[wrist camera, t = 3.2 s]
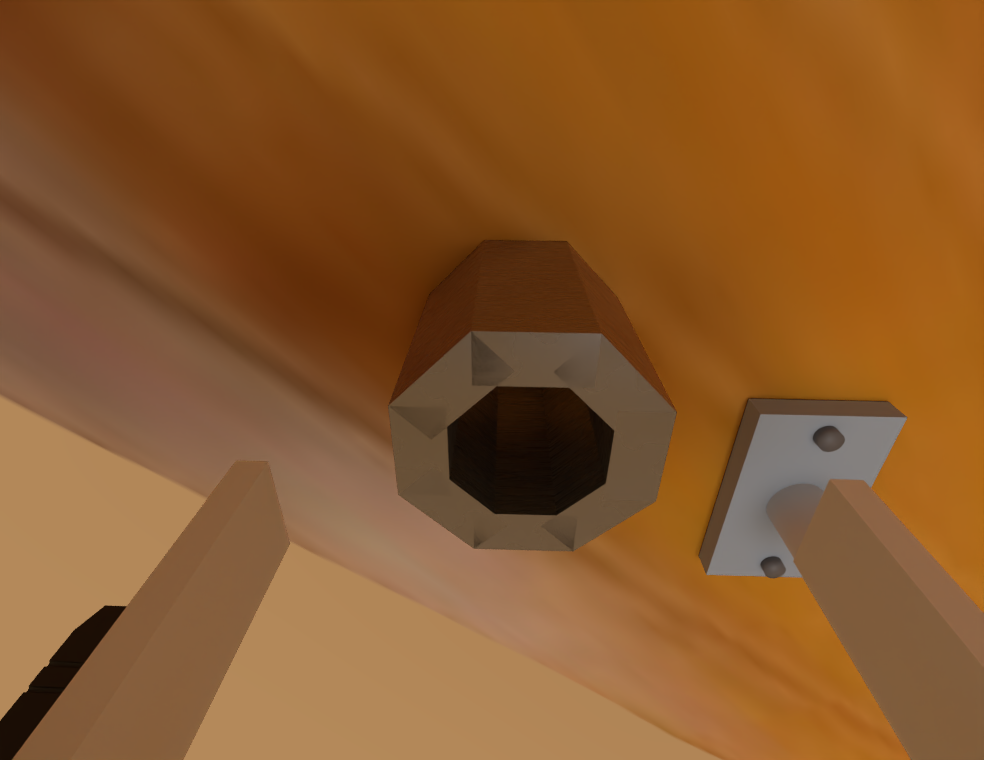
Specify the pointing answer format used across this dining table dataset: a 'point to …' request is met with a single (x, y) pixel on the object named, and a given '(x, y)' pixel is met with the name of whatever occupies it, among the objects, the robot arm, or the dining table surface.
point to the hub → (528, 403)
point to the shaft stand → (790, 477)
